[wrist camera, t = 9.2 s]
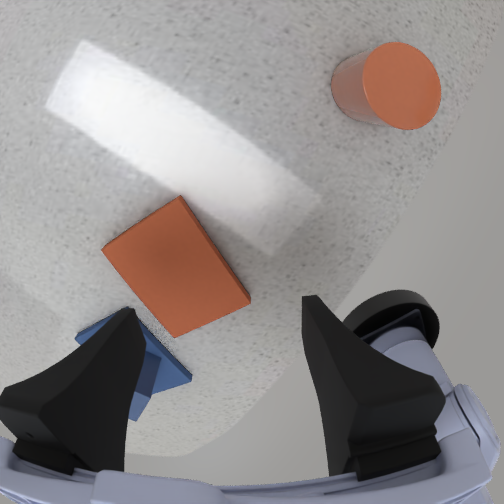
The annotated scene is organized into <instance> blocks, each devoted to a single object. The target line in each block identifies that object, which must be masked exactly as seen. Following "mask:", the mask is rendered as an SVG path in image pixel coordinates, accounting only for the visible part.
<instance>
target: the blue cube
mask: <svg viewBox="0 0 504 504" xmlns="http://www.w3.org/2000/svg"><path fill="white" fill-rule="evenodd" d="M160 361H161V358H160V357H158V356H156V355H154V354H151V353H149V352H147V351H145V357H144V363H143V366H142V369H141V373H140V376H139V379H138V382H137V386H136V389H135V392H134V395H133V399H132V402H131V406H130V411H129V417H128V419H131V420H133V421H137V420H138V418H139V416H140V415H141V413H142V411H143V410H144V408H145V407H146V405H147V403H148V402H149V400H150V399H151V395H152V391H153V388H154V384H155V380H156V376H157V372H158V369H159V365H160Z"/></svg>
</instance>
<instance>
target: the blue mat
mask: <svg viewBox="0 0 504 504" xmlns="http://www.w3.org/2000/svg"><path fill="white" fill-rule="evenodd" d="M124 309H129V308H128V307H126V308H124ZM118 312H119V311H118ZM116 313H117V312H116ZM116 313H115V314H116ZM115 314H113V315H111V316H109V317H107V318H105V319H104V320H102V321H100V322H98V323H96V324H94V325H93V326H91V327H89V328H87V329H85V330H83V331H82V332H80V333H78V334H77V336H76V337H75V340H76V341H77V342H78V343H79V344H80V345H82V344H83V343H84V342H85V341H86V340H88V339H89V338H90V337H91V336H92V335H93V334H94V333H96V332H97V331H98V330H99V329H100V328H101V327H102V326H103V325H104V324H105V323H106V322H107V321H108V320H110V319H111V318H112V317H113V316H114V315H115ZM138 321H139V324H140V326H141V329H142V332H143V334H144V337H145V340H146V342H147V345H146V351H147V352H149V353H151V354H154V355H156V356H158V357H160V358H161V361H160V365H159V369H158V372H157V376H156V380H155V384H154V388H153V391H152V394H155V393H158V392H161V391H164V390H167V389H170V388H174V387H177V386H180V385H183V384H186V383H189V382H191V380H192V375H191V374H190V373H189V372H188V371H187V370H186V369H185V368H184V367H183V366H182V365H181V364H180V363H179V362H178V361H177V360H176V359H175V358H174V357H173V356H172V355H171V354H170V353H169V352H168V351H167V350H166V349H165V347H164V346H163V345H162V344H161V343H160V342H159V341H158V340H157V339H156V338H155V337H154V336H153V335H152V334H151V333H150V332H149V330H148V329H147V328H146V327H145V326H144V325H143V324H142V323H141V322H140V320H139V319H138Z"/></svg>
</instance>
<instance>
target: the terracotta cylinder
mask: <svg viewBox="0 0 504 504" xmlns="http://www.w3.org/2000/svg"><path fill="white" fill-rule="evenodd" d="M331 90H332V94H333V98H334V100H335V102H336V104H337V105H338V107H339V108H340V109H341V110H342V111H343V112H344V113H345V114H346V115H347V116H349V117H350V118H352V119H355V120H357V121H362V122H367V123H373V124H378V125H383V126H388V127H393V128H398V129H402V130H413V129H417V128H420V127H422V126H424V125H426V124H427V123H428V122H429V121H430V120H431V119H432V118H433V117H434V116H435V114H436V112H437V110H438V108H439V105H440V100H441V85H440V80H439V77H438V74H437V72H436V70H435V68H434V66H433V64H432V63H431V62H430V60H429V59H428V58H427V57H426V56H425V55H424V54H423V53H422V52H421V51H419V50H418V49H416V48H415V47H413V46H411V45H408V44H405V43H401V42H389V43H385V44H382V45H379V46H377V47H374V48H372V49H369V50H366V51H364V52H362V53H359V54H357V55H354V56H352V57H349V58H347V59H345V60H344V61H342V62H341V63H340V64H339V65H338V66H337V67H336V69H335V71H334V73H333V76H332V80H331Z"/></svg>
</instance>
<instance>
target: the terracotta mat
mask: <svg viewBox="0 0 504 504" xmlns="http://www.w3.org/2000/svg"><path fill="white" fill-rule="evenodd" d="M101 251H102V252H103V253H104V255H105V256H106V257H107V259H108V260H109V261H110V262H111V264H112V265H113V266H114V268H115V269H116V270H117V271H118V273H119V274H120V275H121V276H122V278H123V279H124V280H125V281H126V283H127V284H128V285H129V286H130V288H131V289H132V290H133V291H134V292H135V294H136V295H137V296H138V297H139V298H140V300H141V301H142V302H143V303H144V304H145V306H146V307H147V308H148V309H149V310H150V311H151V313H152V314H153V315H154V316H155V317H156V318H157V319H158V321H159V322H160V323H161V324H162V325H163V326H164V327H165V328H166V330H167V331H168V332H169V333H170V334H171V335H172V336H173V337H174V338H176V337H178V336H181V335H183V334H185V333H187V332H190V331H192V330H194V329H196V328H199V327H201V326H203V325H205V324H208V323H210V322H212V321H214V320H216V319H219V318H221V317H223V316H225V315H227V314H230V313H232V312H234V311H236V310H238V309H240V308H242V307H245V306H247V305H249V304H251V297H250V296H249V295H248V293H247V292H246V290H245V289H244V287H243V286H242V285H241V283H240V282H239V280H238V279H237V277H236V276H235V274H234V273H233V272H232V270H231V269H230V267H229V266H228V264H227V263H226V261H225V260H224V258H223V257H222V256H221V254H220V253H219V251H218V250H217V248H216V247H215V245H214V244H213V242H212V241H211V239H210V238H209V237H208V235H207V234H206V232H205V231H204V229H203V228H202V226H201V225H200V223H199V222H198V220H197V219H196V217H195V216H194V214H193V213H192V211H191V210H190V208H189V207H188V205H187V204H186V202H185V201H184V199H183V198H182V196H181V195H180V196H178V197H177V198H175V199H174V200H172V201H170V202H169V203H167V204H166V205H164V206H163V207H161V208H159V209H158V210H156V211H155V212H153V213H152V214H150V215H149V216H147V217H146V218H144V219H143V220H141V221H140V222H138V223H137V224H135V225H134V226H132V227H131V228H129V229H128V230H126V231H125V232H123V233H122V234H121V235H119V236H118V237H116V238H115V239H113V240H112V241H111V242H109V243H108V244H106V245H105V246H104V247H103V248H102V250H101Z"/></svg>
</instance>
